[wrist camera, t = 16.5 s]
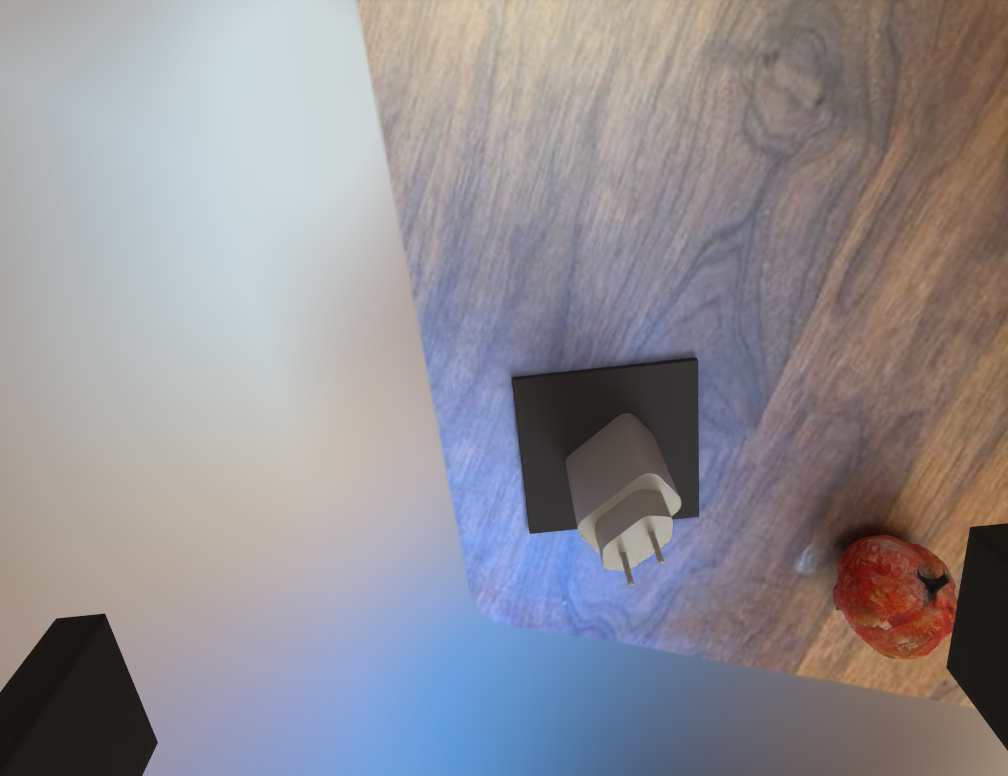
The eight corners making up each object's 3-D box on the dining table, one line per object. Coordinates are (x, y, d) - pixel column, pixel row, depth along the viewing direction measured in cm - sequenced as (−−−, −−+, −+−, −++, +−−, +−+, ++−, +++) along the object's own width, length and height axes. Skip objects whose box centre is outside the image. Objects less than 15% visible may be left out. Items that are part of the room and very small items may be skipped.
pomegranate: (882, 588, 55) (1010, 558, 47) (869, 685, 51) (1006, 672, 43) (800, 537, 54) (915, 498, 46) (781, 633, 50) (903, 608, 42)
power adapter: (659, 441, 47) (711, 560, 36) (592, 493, 48) (622, 623, 37) (627, 408, 46) (671, 520, 35) (560, 462, 47) (581, 586, 36)
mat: (512, 377, 45) (512, 379, 45) (696, 357, 45) (698, 360, 45) (529, 530, 50) (529, 534, 49) (697, 513, 50) (699, 517, 49)
